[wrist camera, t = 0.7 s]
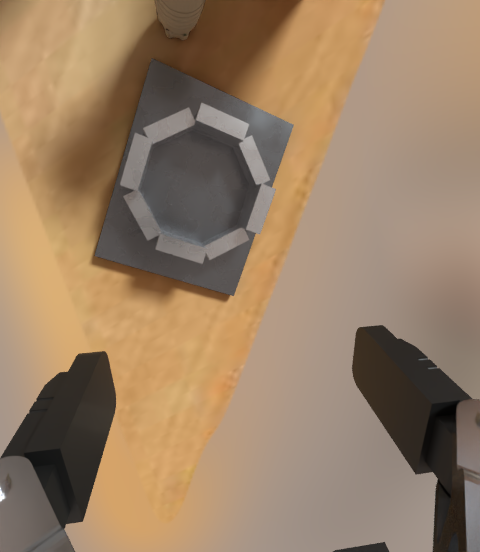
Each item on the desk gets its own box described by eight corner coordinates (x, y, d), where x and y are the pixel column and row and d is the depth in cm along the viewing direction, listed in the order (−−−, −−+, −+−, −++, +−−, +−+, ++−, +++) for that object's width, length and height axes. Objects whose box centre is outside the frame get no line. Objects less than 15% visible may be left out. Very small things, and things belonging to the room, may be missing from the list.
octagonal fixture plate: (96, 254, 32) (85, 263, 28) (151, 62, 30) (150, 36, 25) (231, 293, 36) (242, 307, 32) (289, 127, 34) (311, 115, 29)
